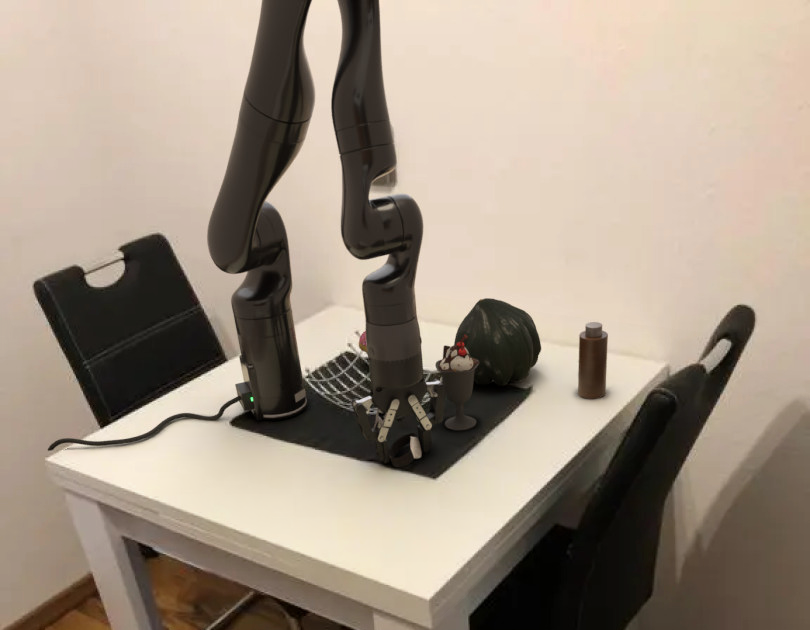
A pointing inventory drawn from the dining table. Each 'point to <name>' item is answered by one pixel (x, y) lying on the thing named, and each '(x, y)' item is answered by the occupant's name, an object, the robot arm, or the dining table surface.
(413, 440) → the watch
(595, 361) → the pepper mill
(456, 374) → the sundae
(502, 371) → the squash
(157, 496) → the dining table surface
